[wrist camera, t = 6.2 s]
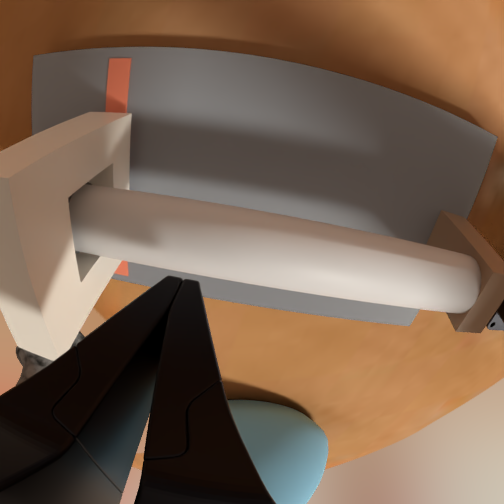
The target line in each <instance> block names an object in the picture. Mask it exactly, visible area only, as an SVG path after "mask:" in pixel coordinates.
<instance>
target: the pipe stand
mask: <svg viewBox="0 0 504 504" xmlns="http://www.w3.org/2000/svg"><path fill="white" fill-rule="evenodd" d="M88 112H115V113H132V117H131V135H130V167H129V190H126V189H118V188H111V187H103V186H95V185H92V184H91V183H89V182H87V183H86V184H84V185H83V186H82V187H81V188H79V189H78V190H77V191H76V192H74V193H73V194H72V195H71V196H70V197H68V202H69V211H70V220H71V228H72V235H73V241H74V248H75V254H77V253H80V252H84V253H88V254H93V255H98V256H103V257H108V258H113V259H118V260H122V261H121V263H120V265H119V266H118V268H117V269H116V271H115V272H114V274H113V276H112V277H111V278H112V279H117V280H121V281H126V282H130V283H135V284H140V285H145V286H150V287H152V286H154V285H155V284H156V283H158V282H159V281H161V280H162V279H163V278H165V277H166V276H168V275H171V276H176V277H181V278H182V279H183V280H184V279H186V278H187V279H192V280H197V281H199V282H200V286H201V291H202V296H203V297H207V298H212V299H218V300H224V301H229V302H235V303H241V304H247V305H253V306H259V307H266V308H272V309H279V310H285V311H292V312H299V313H306V314H313V315H320V316H327V317H335V318H343V319H351V320H359V321H367V322H376V323H385V324H394V325H403V326H410V325H411V323H412V321H413V320H414V318H415V317H416V315H417V313H418V312H419V310H420V309H423V310H431V311H439V312H446V313H447V315H448V317H449V319H450V321H451V323H452V325H453V327H454V329H455V331H457V332H471V333H481V332H482V330H483V329H484V328H485V326H486V325H487V323H488V322H489V321H490V319H491V318H492V316H493V315H494V313H495V312H496V310H497V309H498V307H499V306H500V304H501V303H502V301H503V300H504V261H503V260H502V258H501V257H500V256H499V255H498V254H497V253H496V251H495V250H494V249H493V248H492V247H491V246H490V244H489V243H488V242H487V241H486V240H485V239H484V238H483V237H482V235H481V234H480V233H479V232H478V231H477V230H476V229H475V228H474V227H473V226H472V225H471V224H470V222H469V221H468V220H467V218H468V215H469V213H470V211H471V208H472V206H473V204H474V201H475V199H476V196H477V194H478V191H479V189H480V186H481V184H482V181H483V178H484V176H485V173H486V170H487V167H488V165H489V162H490V159H491V156H492V153H493V150H494V147H495V144H496V141H497V136H495V135H493V134H491V133H490V132H488V131H486V130H484V129H482V128H480V127H478V126H476V125H474V124H472V123H470V122H468V121H466V120H464V119H462V118H460V117H458V116H456V115H453V114H451V113H449V112H447V111H445V110H442V109H440V108H438V107H435V106H433V105H431V104H428V103H426V102H423V101H421V100H418V99H416V98H413V97H411V96H408V95H405V94H403V93H400V92H397V91H394V90H392V89H389V88H386V87H383V86H380V85H377V84H374V83H371V82H367V81H364V80H361V79H358V78H354V77H351V76H347V75H344V74H340V73H336V72H333V71H329V70H325V69H321V68H317V67H312V66H308V65H304V64H299V63H294V62H289V61H284V60H279V59H274V58H268V57H262V56H256V55H249V54H242V53H234V52H226V51H216V50H206V49H193V48H175V47H111V48H94V49H81V50H71V51H63V52H55V53H47V54H41V55H35V56H34V57H33V73H32V136H33V135H35V134H37V133H39V132H41V131H44V130H46V129H48V128H51V127H53V126H55V125H58V124H60V123H62V122H65V121H67V120H70V119H72V118H75V117H77V116H80V115H83V114H85V113H88Z"/></svg>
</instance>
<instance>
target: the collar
mask: <svg viewBox="0 0 504 504" xmlns="http://www.w3.org/2000/svg"><path fill="white" fill-rule="evenodd" d="M131 117H132V113H115V112H88V113H85V114H83V115H80V116H77V117H75V118H72V119H70V120H67V121H65V122H62V123H60V124H58V125H55V126H53V127H51V128H48V129H46V130H44V131H41V132H39V133H37V134H35V135H33V136H31V137H28V138H26V139H24V140H22V141H20V142H18V143H16V144H14V145H12V146H10V147H8V148H6V149H4V150H2V151H1V152H0V309H1V311H2V314H3V316H4V318H5V320H6V323H7V325H8V327H9V329H10V331H11V333H12V335H13V338H14V339H15V341H16V344H17V346H18V347H19V348H22V349H24V350H27V351H29V352H32V353H34V354H37V355H39V356H42V357H44V358H47V359H49V360H52V361H54V360H56V359H57V358H58V357H60V356H61V355H62V354H64V353H65V352H66V351H68V350H69V349H70V347H71V346H72V344H73V342H74V340H75V338H76V336H77V335H78V333H79V331H80V329H81V327H82V326H83V324H84V322H85V320H86V319H87V317H88V315H89V313H90V312H91V310H92V308H93V307H94V305H95V303H96V302H97V300H98V298H99V297H100V295H101V293H102V292H103V290H104V288H105V287H106V285H107V284H108V282H109V280H110V279H111V277H112V276H113V274H114V272H115V271H116V269H117V268H118V266H119V265H120V263H121V261H122V260H118V259H113V258H108V257H103V256H98V255H93V254H88V253H84V252H80V253H77V254H75V248H74V241H73V235H72V228H71V220H70V211H69V202H68V197H70V196H71V195H72V194H73V193H74V192H76V191H77V190H78V189H79V188H81V187H82V186H83V185H84V184H86V183H87V182H89V183H91V184H92V185H95V186H103V187H111V188H118V189H126V190H129V167H130V135H131Z"/></svg>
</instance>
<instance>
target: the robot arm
mask: <svg viewBox="0 0 504 504" xmlns="http://www.w3.org/2000/svg"><path fill="white" fill-rule="evenodd" d="M486 326H487V328H488V329H489V330H504V300H503V301H502V303H501V304H500V306H499V307H498V309H497V310H496V312H495V313H494V315H493V316H492V318H491V319H490V321H489V322H488V323H487V325H486ZM76 346H77V347H76ZM76 346H73V347H72V348H70V349H69V350H68V351H66V352H65V353H64V354H62V355H61V356H60V357H58V358H57V359H56V360H54V361H53V362H52V363H50V364H49V365H48V366H46V367H44V368H43V369H41V370H40V371H38V372H37V373H35V374H34V375H32V376H31V377H29V378H28V379H26V380H24V381H23V382H21V383H20V384H18V385H16V386H15V387H13V388H12V389H10V390H9V391H7V392H5V393H4V394H2V395H1V396H0V504H119V503H120V500H121V497H122V493H123V491H124V488H125V485H126V481H127V478H128V475H129V472H130V469H131V466H132V463H133V460H134V457H135V455H136V451H137V449H138V446H139V443H140V440H141V437H142V434H143V431H144V428H145V426H146V423H147V420H148V417H149V414H150V417H149V424H148V430H147V437H146V444H145V451H144V462H143V467H142V475H141V479H140V485H139V489H138V492H137V496H136V499H135V502H134V504H276V503H275V501H274V500H273V498H272V497H271V495H270V494H269V492H268V490H267V489H266V487H265V485H264V483H263V481H262V480H261V478H260V476H259V474H258V472H257V469H256V467H255V465H254V463H253V461H252V459H251V457H250V455H249V453H248V451H247V449H246V447H245V444H244V442H243V440H242V438H241V436H240V433H239V431H238V429H237V426H236V424H235V421H234V419H233V416H232V413H231V410H230V407H229V404H228V400H227V397H226V393H225V390H224V386H223V382H222V378H221V374H220V370H219V366H218V362H217V358H216V354H215V349H214V345H213V341H212V337H211V332H210V328H209V323H208V319H207V314H206V310H205V305H204V300H203V296H202V291H201V286H200V282H199V281H197V280H192V279H187V278H186V279H184V280H183V279H182V278H181V277H176V276H171V275H168V276H166V277H165V278H163V279H162V280H161V281H159V282H158V283H156V284H155V285H154V286H152V287H151V288H150V289H148V290H147V291H146V292H144V293H143V294H142V295H140V296H139V297H138V298H136V299H135V300H134V301H132V302H131V303H129V304H128V305H127V306H125V307H124V308H123V309H121V310H120V311H119V312H117V313H116V314H115V315H114V316H112V317H111V318H110V319H108V320H107V321H106V322H104V323H103V324H102V325H100V326H99V327H98V328H96V329H95V330H94V331H93V332H91V333H90V334H89V335H87V336H86V337H85V338H83V339H82V340H81V341H79V342H78V343H77V344H76Z"/></svg>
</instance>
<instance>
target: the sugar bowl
mask: <svg viewBox="0 0 504 504" xmlns="http://www.w3.org/2000/svg"><path fill="white" fill-rule="evenodd" d="M228 404H229V407H230V410H231V413H232V416H233V419H234V421H235V424H236V426H237V429H238V431H239V433H240V436H241V438H242V440H243V442H244V444H245V447H246V449H247V451H248V453H249V455H250V457H251V459H252V461H253V463H254V465H255V467H256V469H257V472H258V474H259V476H260V478H261V480H262V481H263V483H264V485H265V487H266V489H267V490H268V492H269V494H270V495H271V497H272V498H273V500H274V501H275V503H276V504H307V502H308V501H309V499H310V498H311V496H312V494H313V493H314V492H315V490H316V488H317V486H318V485H319V483H320V480H321V478H322V475H323V473H324V470H325V466H326V462H327V456H328V439H327V437H326V435H325V433H324V431H323V430H322V429H321V428H320V427H319V426H318V425H317V424H316V423H315V422H313V421H312V420H311V419H310V418H308V417H307V416H306V415H304V414H303V413H301V412H299V411H297V410H295V409H293V408H290V407H287V406H284V405H280V404H275V403H270V402H264V401H256V400H228Z"/></svg>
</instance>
